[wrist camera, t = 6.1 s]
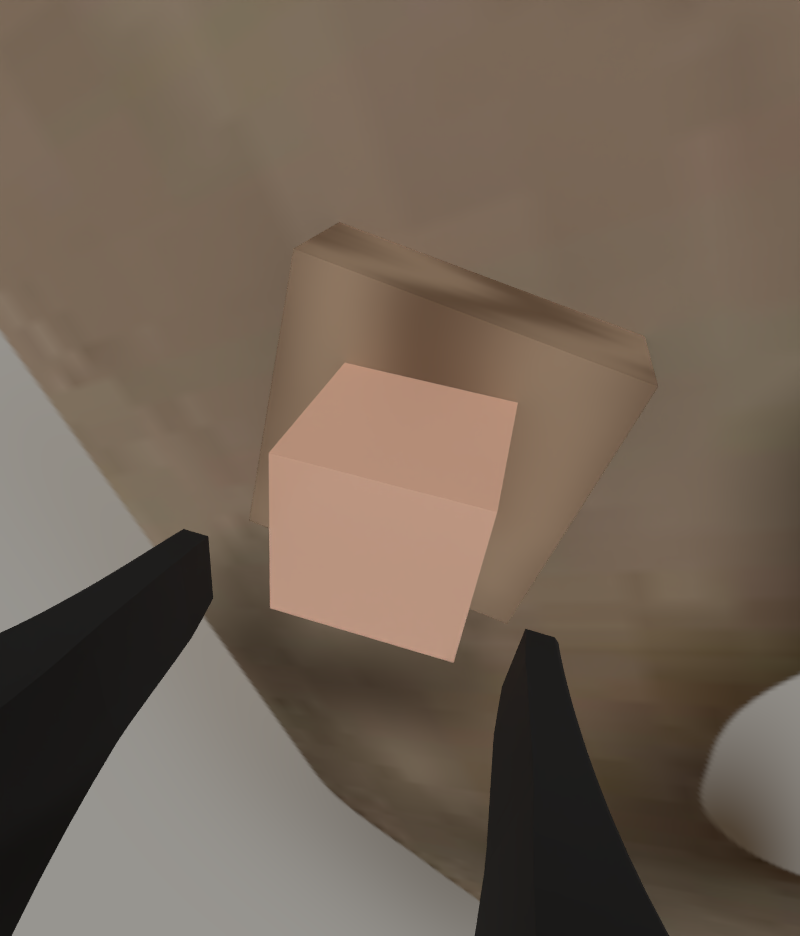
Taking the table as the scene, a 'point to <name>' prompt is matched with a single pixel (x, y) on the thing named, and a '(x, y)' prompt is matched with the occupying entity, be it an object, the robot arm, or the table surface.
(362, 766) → the table surface
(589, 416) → the walnut block
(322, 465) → the terracotta cube
